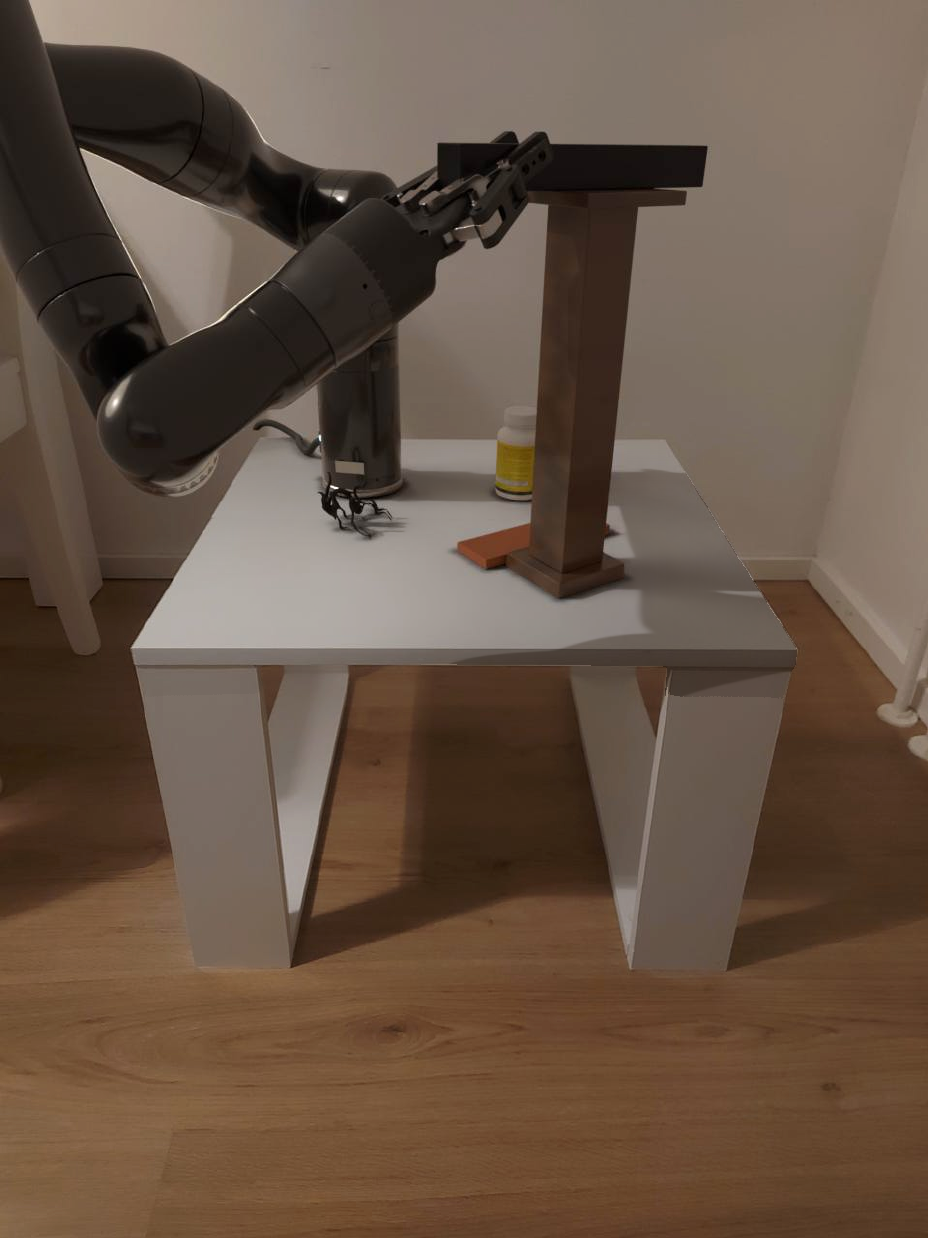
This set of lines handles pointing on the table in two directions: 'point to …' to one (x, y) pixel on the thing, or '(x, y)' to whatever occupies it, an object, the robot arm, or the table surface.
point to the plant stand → (580, 382)
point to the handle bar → (585, 165)
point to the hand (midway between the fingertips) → (530, 144)
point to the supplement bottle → (516, 454)
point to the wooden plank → (497, 545)
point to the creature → (353, 504)
